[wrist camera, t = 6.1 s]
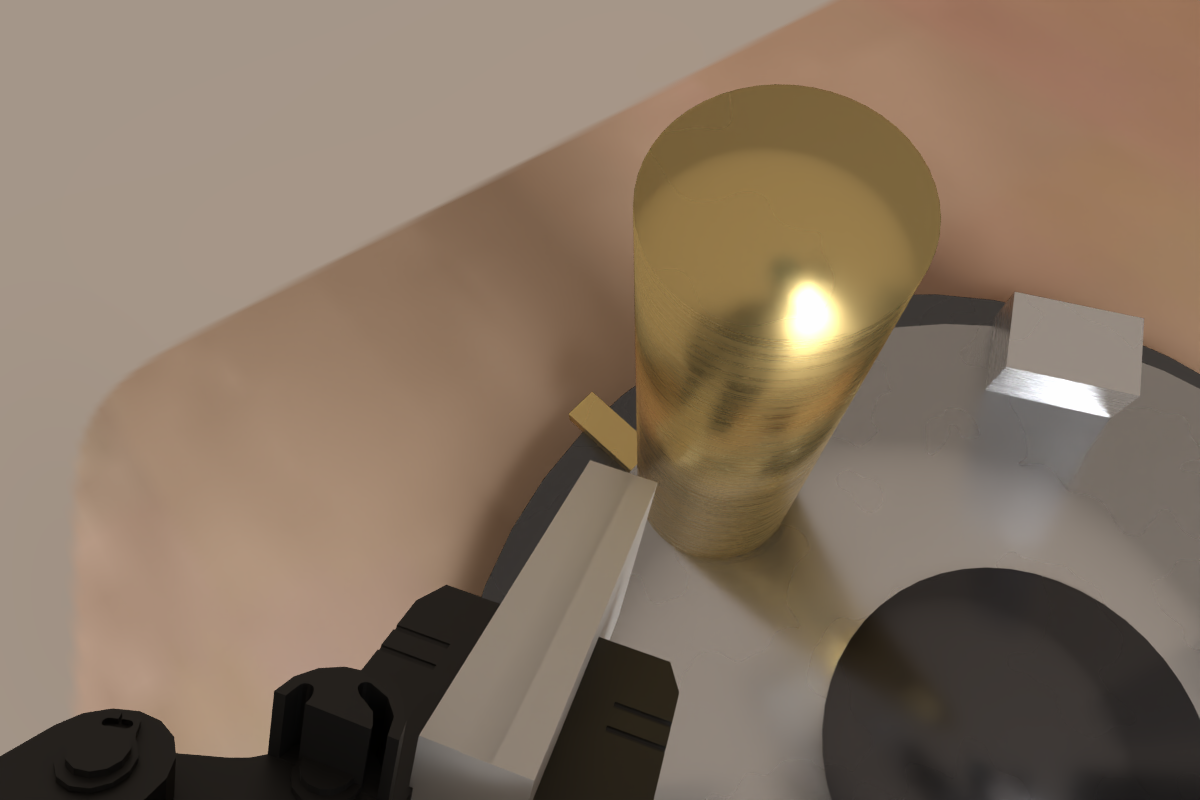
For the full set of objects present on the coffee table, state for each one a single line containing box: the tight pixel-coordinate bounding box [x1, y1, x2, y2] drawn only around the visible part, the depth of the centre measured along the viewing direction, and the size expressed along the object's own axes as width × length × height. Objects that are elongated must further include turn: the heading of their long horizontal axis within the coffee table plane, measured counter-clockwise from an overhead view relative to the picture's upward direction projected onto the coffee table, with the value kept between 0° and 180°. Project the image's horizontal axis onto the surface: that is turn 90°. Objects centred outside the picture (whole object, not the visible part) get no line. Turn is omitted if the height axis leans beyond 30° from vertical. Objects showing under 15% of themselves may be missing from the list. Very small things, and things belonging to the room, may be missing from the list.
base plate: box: [482, 295, 1200, 604], centre depth 19 cm, size 22×22×2 cm
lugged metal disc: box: [610, 84, 1200, 800], centre depth 13 cm, size 18×18×12 cm
